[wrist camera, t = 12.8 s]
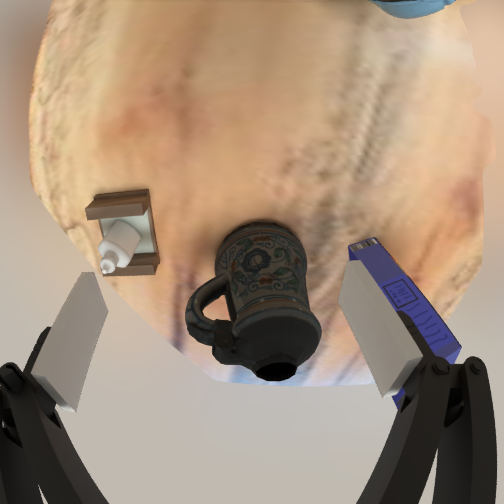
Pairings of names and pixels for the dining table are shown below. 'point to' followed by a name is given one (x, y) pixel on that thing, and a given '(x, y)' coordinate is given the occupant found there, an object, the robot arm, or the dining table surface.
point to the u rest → (138, 216)
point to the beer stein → (258, 303)
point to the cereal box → (406, 299)
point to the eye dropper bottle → (118, 246)
